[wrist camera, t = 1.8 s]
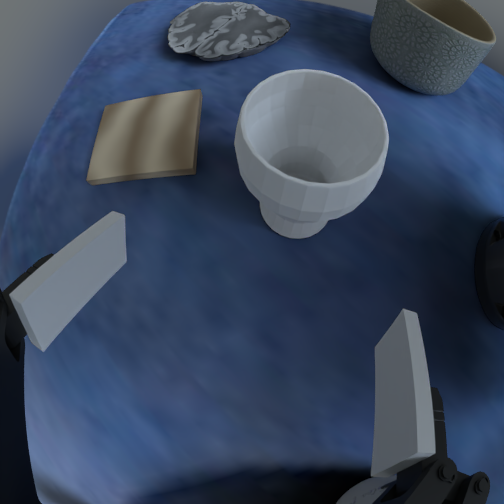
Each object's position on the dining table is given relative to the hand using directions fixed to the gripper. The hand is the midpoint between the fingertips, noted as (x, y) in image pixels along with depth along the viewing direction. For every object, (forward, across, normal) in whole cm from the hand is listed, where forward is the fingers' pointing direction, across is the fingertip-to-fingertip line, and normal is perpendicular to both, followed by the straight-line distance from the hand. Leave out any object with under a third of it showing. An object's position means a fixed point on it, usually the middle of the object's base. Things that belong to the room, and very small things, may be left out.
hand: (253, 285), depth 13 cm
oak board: (+22, -20, -2) cm, 30 cm away
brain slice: (+38, -18, +13) cm, 44 cm away
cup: (+20, 0, -4) cm, 20 cm away
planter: (+41, +12, +17) cm, 46 cm away
